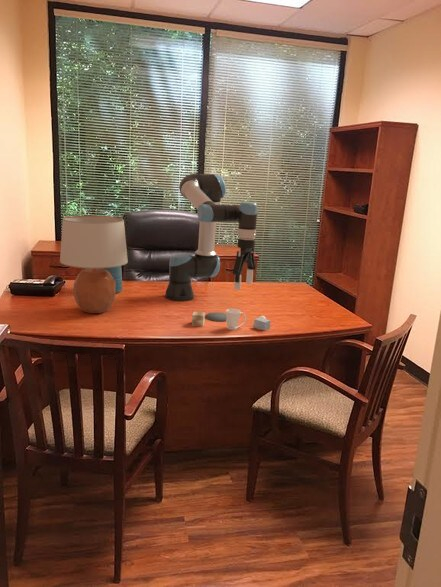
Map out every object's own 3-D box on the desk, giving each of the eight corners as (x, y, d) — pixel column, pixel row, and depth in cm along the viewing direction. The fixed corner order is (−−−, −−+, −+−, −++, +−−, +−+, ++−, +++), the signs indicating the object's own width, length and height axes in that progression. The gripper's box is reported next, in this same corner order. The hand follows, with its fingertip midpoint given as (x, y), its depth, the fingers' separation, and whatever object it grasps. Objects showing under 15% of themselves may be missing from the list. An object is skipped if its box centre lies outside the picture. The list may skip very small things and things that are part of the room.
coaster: (201, 318, 225) (201, 317, 225) (212, 312, 236) (212, 310, 235) (224, 323, 220) (224, 321, 220) (235, 316, 231) (235, 315, 230)
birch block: (191, 325, 215) (192, 314, 214) (193, 322, 220) (194, 311, 218) (202, 326, 214) (203, 315, 213) (204, 323, 219) (205, 312, 218)
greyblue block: (253, 327, 217) (254, 319, 216) (259, 325, 220) (259, 317, 219) (264, 331, 213) (265, 322, 212) (269, 329, 216) (270, 320, 215)
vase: (128, 291, 264) (129, 243, 257) (103, 296, 252) (103, 245, 245) (110, 285, 274) (110, 238, 267) (85, 290, 262) (85, 241, 255)
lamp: (86, 299, 246) (85, 213, 235) (138, 307, 236) (139, 219, 225) (47, 314, 218) (43, 218, 207) (105, 325, 209) (104, 225, 198)
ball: (256, 324, 221) (256, 316, 220) (259, 322, 224) (260, 314, 223) (264, 326, 219) (265, 317, 218) (267, 323, 223) (268, 315, 222)
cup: (221, 326, 216) (222, 308, 214) (242, 324, 220) (243, 307, 217) (227, 331, 210) (228, 313, 208) (248, 329, 213) (249, 312, 211)
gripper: (243, 242, 196) (240, 293, 201) (264, 236, 218) (261, 282, 223) (226, 240, 199) (223, 290, 204) (249, 235, 221) (246, 280, 226)
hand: (243, 286), depth 214 cm, fingers open, 13 cm apart
